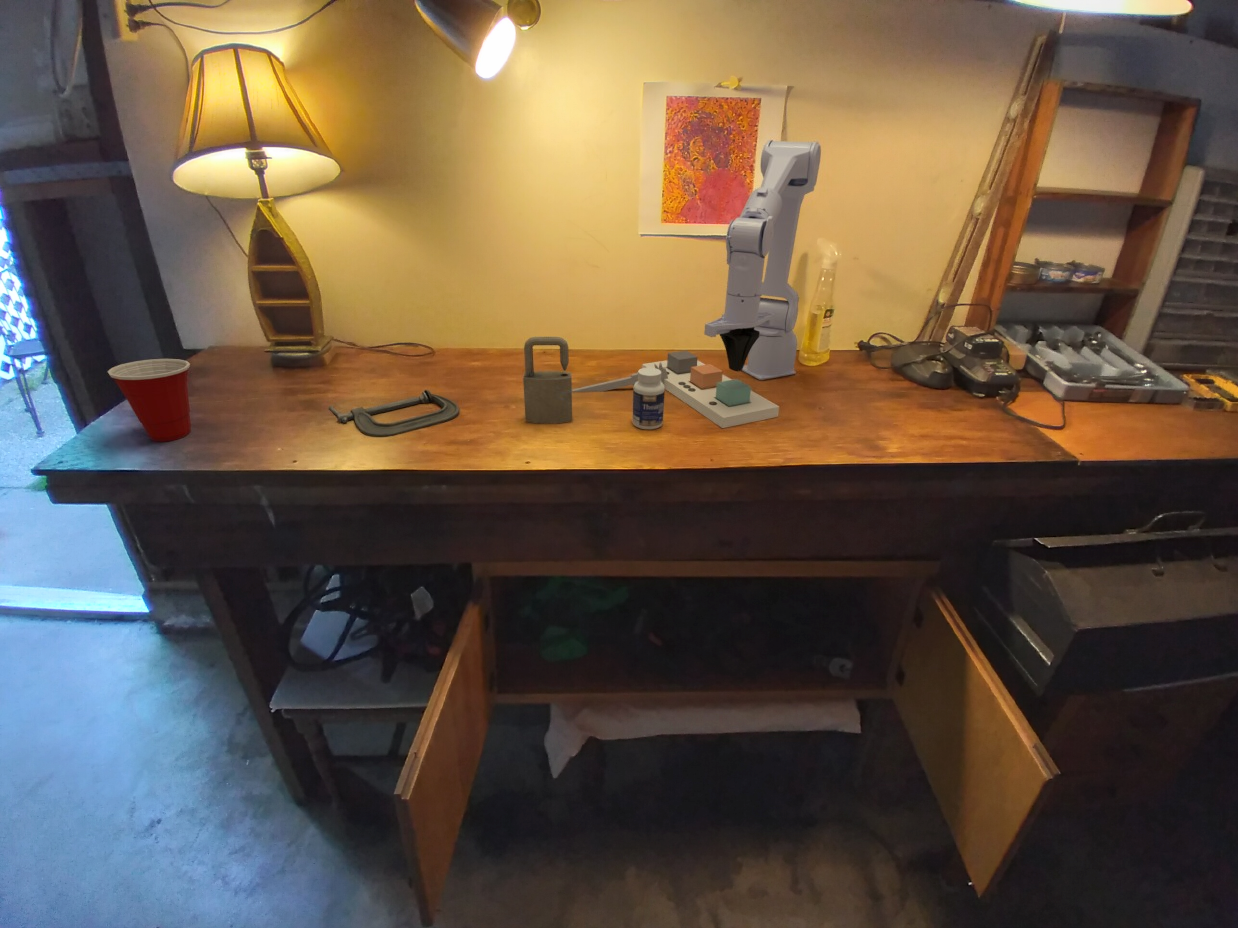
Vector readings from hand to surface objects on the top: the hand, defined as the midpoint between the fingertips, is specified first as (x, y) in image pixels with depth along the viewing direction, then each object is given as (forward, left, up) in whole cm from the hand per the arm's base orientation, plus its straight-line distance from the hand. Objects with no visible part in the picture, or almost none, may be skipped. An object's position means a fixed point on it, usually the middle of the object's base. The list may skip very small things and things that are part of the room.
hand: (735, 369), depth 118 cm
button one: (0, 0, -6) cm, 6 cm away
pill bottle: (+17, -1, -8) cm, 19 cm away
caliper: (+15, -18, -9) cm, 25 cm away
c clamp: (+56, -23, -9) cm, 61 cm away
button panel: (0, -9, -8) cm, 12 cm away
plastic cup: (+91, -30, -8) cm, 96 cm away
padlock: (+32, -10, -8) cm, 34 cm away
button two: (0, -18, -6) cm, 19 cm away
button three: (0, -9, -6) cm, 11 cm away
